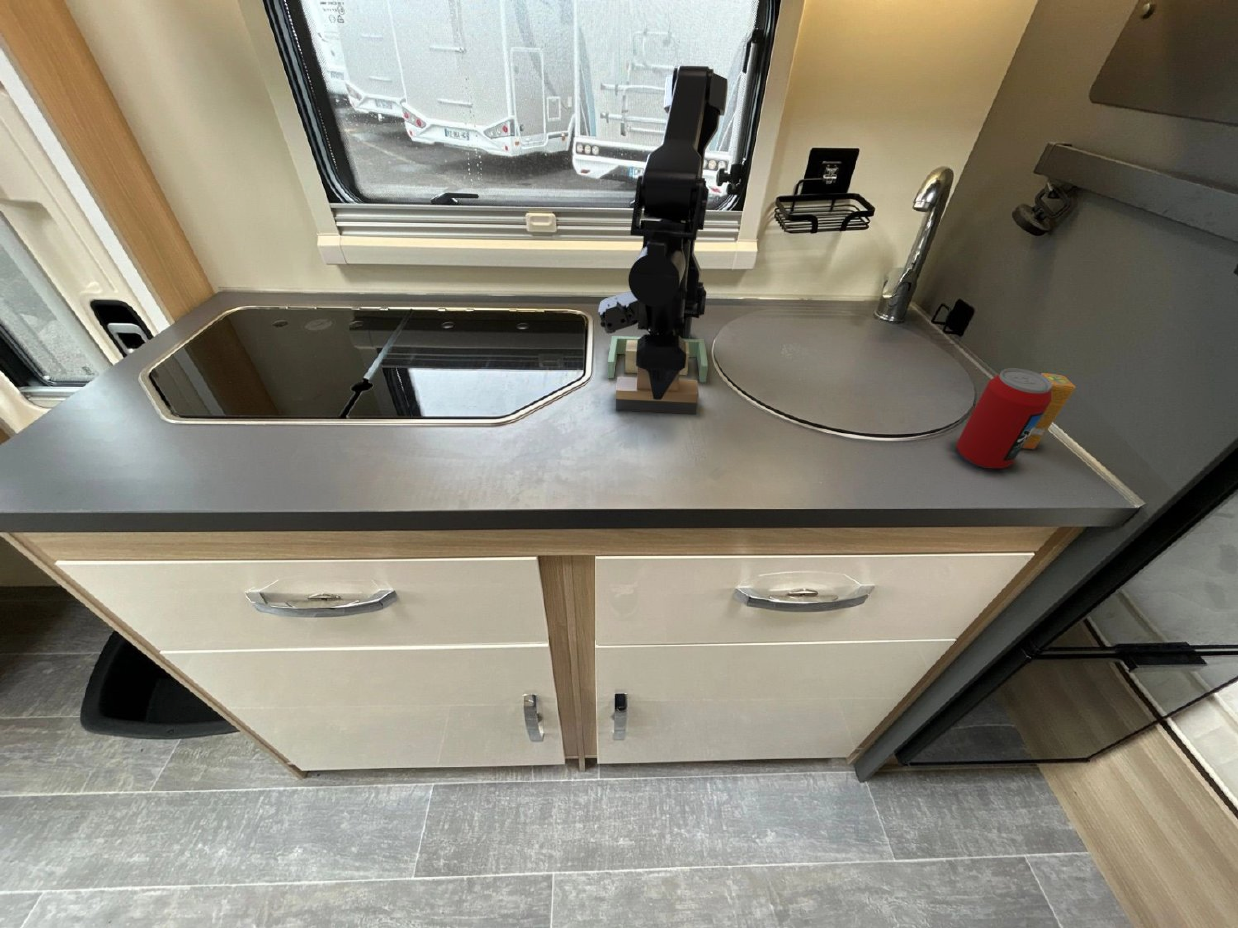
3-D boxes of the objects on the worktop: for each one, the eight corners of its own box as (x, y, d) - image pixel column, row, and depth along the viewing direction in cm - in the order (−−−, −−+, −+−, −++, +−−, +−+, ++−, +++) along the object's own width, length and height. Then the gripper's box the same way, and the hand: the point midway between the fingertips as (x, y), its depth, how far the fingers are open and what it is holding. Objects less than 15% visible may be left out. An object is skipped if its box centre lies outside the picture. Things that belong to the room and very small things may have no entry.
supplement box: (1037, 450, 72) (1079, 387, 66) (1010, 447, 72) (1049, 384, 66) (1027, 436, 74) (1066, 374, 68) (1001, 433, 75) (1037, 371, 69)
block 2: (662, 362, 90) (664, 341, 87) (686, 363, 90) (688, 342, 87) (662, 374, 87) (664, 352, 84) (687, 375, 87) (689, 353, 84)
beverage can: (1018, 476, 68) (1070, 396, 60) (961, 469, 69) (1005, 389, 61) (999, 445, 73) (1045, 368, 65) (947, 439, 74) (986, 362, 66)
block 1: (626, 361, 90) (626, 339, 88) (649, 362, 90) (650, 340, 88) (625, 372, 87) (625, 350, 85) (649, 373, 87) (650, 351, 84)
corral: (612, 351, 93) (612, 335, 91) (702, 355, 92) (704, 339, 90) (607, 378, 86) (607, 361, 84) (705, 382, 85) (708, 366, 83)
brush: (617, 396, 81) (618, 352, 77) (694, 399, 81) (700, 356, 76) (615, 410, 78) (616, 365, 73) (696, 414, 78) (701, 369, 73)
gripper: (608, 251, 75) (608, 351, 85) (594, 302, 60) (596, 415, 70) (686, 254, 74) (677, 353, 84) (692, 305, 60) (680, 419, 70)
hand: (657, 382), depth 77 cm, fingers open, 9 cm apart
